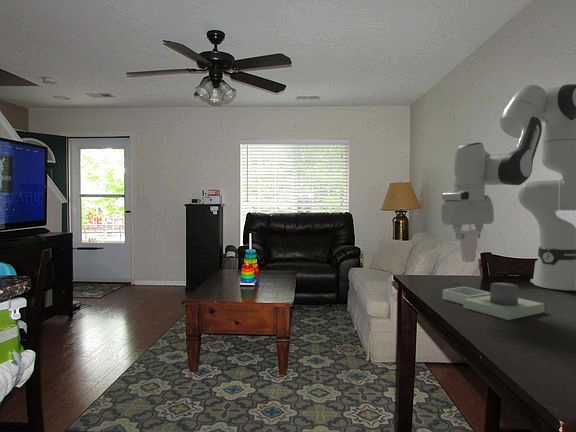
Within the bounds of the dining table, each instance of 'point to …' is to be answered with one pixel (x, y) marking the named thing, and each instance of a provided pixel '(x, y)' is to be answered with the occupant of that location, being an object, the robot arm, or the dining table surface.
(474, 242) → the smoothie
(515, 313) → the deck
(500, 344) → the dining table surface
